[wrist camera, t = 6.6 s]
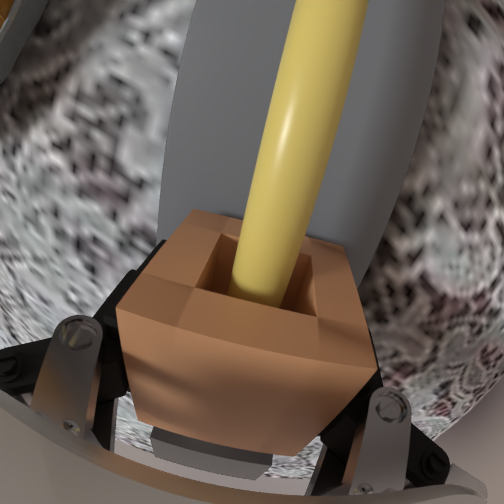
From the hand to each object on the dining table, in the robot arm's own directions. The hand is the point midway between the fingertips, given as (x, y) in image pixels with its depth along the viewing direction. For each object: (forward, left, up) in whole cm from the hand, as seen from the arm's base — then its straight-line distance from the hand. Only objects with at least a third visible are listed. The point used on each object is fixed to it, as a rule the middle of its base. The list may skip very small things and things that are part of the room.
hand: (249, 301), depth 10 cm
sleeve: (0, 0, -1) cm, 1 cm away
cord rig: (-4, 0, -2) cm, 4 cm away
